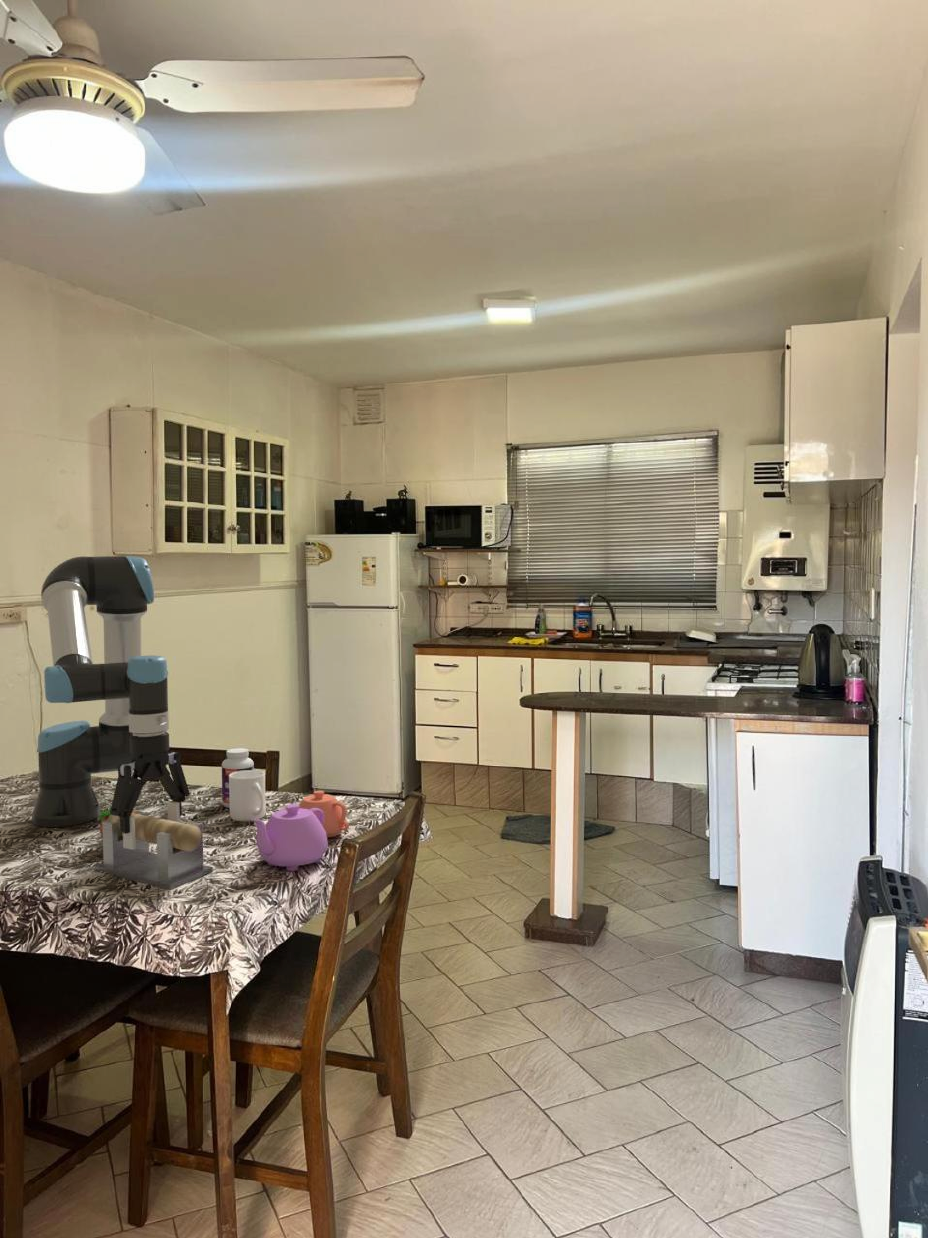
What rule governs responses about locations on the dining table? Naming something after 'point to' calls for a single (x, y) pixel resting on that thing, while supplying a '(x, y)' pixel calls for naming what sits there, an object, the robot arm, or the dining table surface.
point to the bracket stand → (151, 859)
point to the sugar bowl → (328, 811)
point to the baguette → (149, 826)
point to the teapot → (292, 837)
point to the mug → (247, 795)
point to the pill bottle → (234, 769)
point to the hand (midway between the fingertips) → (152, 840)
